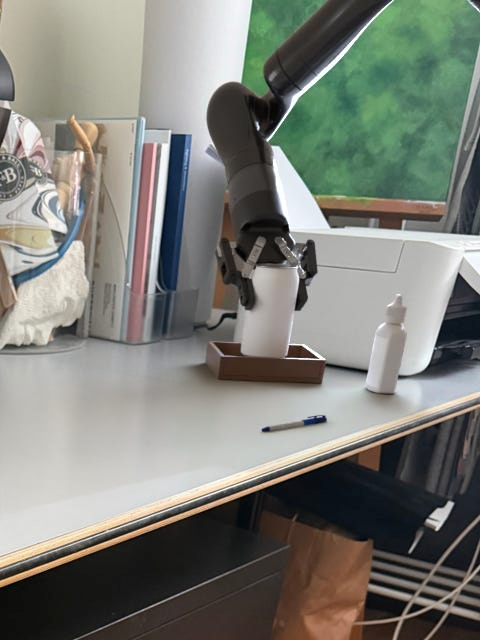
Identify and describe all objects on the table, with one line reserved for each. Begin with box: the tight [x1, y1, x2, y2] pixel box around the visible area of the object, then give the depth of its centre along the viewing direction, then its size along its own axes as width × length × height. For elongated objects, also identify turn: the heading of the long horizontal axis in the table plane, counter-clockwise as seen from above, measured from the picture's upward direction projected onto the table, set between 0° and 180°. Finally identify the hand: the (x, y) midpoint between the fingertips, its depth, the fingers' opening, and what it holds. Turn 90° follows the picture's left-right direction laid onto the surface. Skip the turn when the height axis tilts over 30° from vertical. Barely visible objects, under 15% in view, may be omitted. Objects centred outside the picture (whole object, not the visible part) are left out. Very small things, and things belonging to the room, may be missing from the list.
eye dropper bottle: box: [365, 293, 408, 394], centre depth 122 cm, size 4×6×12 cm
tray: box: [204, 340, 327, 384], centre depth 133 cm, size 14×12×3 cm
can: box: [241, 263, 299, 358], centre depth 130 cm, size 6×6×12 cm
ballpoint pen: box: [261, 414, 328, 433], centre depth 106 cm, size 10×1×1 cm, turn 125°
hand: (275, 306), depth 128 cm, fingers closed on can, 6 cm apart
